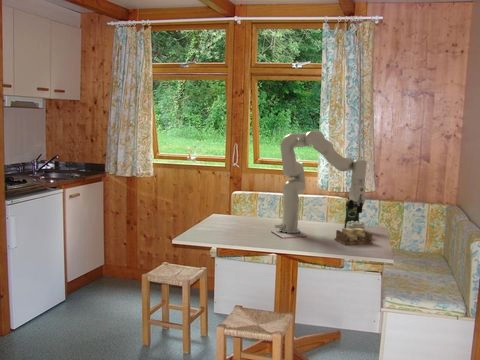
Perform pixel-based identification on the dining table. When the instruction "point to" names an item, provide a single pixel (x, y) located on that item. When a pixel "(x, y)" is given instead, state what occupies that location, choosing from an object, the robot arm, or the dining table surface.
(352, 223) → the lumpy-topped squat cylinder
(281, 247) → the dining table surface
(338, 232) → the peg cradle
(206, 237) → the dining table surface
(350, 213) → the coffee jar
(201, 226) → the dining table surface
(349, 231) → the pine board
